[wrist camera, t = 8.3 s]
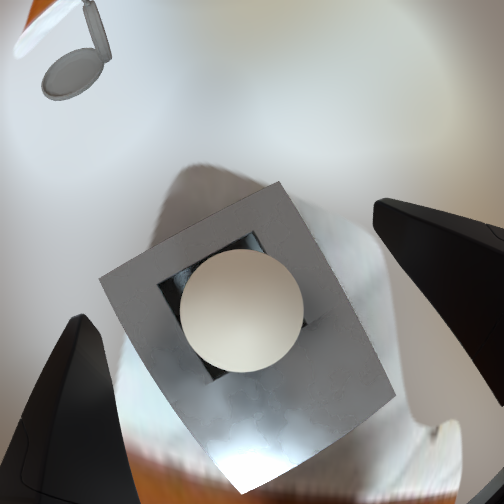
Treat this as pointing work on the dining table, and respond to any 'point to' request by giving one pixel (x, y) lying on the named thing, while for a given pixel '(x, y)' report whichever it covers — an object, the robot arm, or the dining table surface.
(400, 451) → the dining table surface
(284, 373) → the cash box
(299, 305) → the coin roll
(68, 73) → the pocket watch
